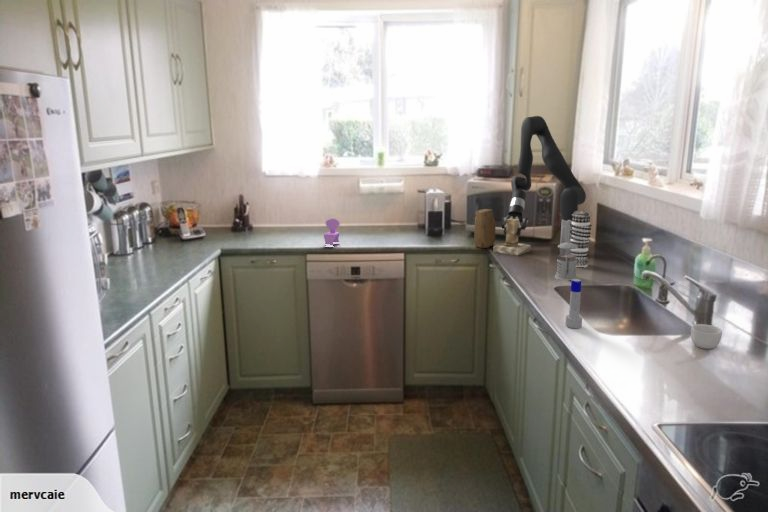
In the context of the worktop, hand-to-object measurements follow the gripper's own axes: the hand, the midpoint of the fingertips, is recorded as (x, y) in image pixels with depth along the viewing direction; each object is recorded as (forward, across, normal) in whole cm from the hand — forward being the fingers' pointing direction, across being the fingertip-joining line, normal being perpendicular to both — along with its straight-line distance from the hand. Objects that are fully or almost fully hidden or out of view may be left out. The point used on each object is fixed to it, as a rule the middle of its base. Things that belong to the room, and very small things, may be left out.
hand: (511, 235), depth 274 cm
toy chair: (+18, -96, -4) cm, 97 cm away
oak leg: (+4, 0, +6) cm, 8 cm away
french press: (+35, +30, -22) cm, 51 cm away
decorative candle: (+18, +34, -6) cm, 39 cm away
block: (+1, -16, +12) cm, 20 cm away
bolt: (+74, +38, -62) cm, 104 cm away
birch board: (+5, 0, +7) cm, 9 cm away
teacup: (+76, +75, -64) cm, 125 cm away
